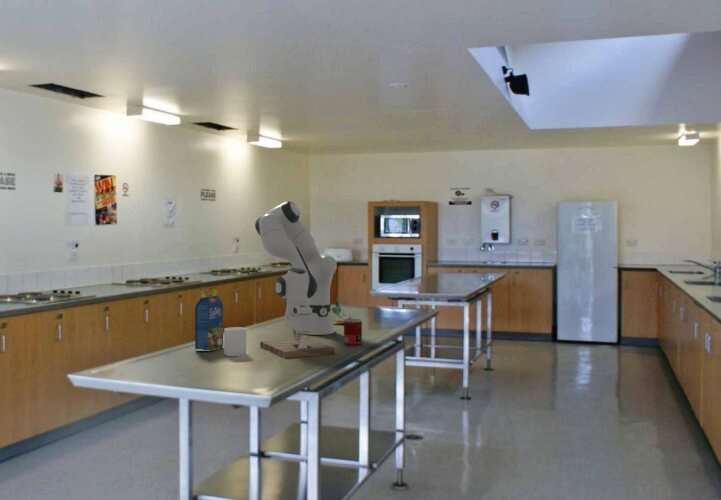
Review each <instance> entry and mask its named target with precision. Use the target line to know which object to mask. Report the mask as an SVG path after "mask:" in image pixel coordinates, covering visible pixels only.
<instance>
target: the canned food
mask: <svg viewBox="0 0 721 500" xmlns="http://www.w3.org/2000/svg"><path fill="white" fill-rule="evenodd" d="M343 320H344V323H343V343H344V345H345V346H350V347H357V346H361V345H362V342H363V320H362V319H361V318H352V319H348V318H345V319H343Z"/></svg>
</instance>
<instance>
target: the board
mask: <svg viewBox="0 0 721 500" xmlns="http://www.w3.org/2000/svg"><path fill="white" fill-rule="evenodd" d="M259 344H260V345H259V347H260V348H261V349H263V350H265V351H267V352H269V351H270V353H272V354H274V355H276V356H279V357H281V358H282V359H291V358H300V357H312V356H322V355H323V356H325V355H326V356H327V355H333V354H335V353H336V351H335V349H336V348H335V347H334V346H331V345H328V344H325V343H323V342H320V341H317V340H314V339H312V338H309V337H306V338H305V337H304V338H301V337H300V341H295V340H294V338H291V339H289V338H288V339H278V340H277V339H276V340H275V339H274V340H262V341H260V343H259ZM300 344H306V345H307V348H302V349H299V348H298V346H299V345H300Z"/></svg>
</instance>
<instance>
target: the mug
mask: <svg viewBox="0 0 721 500" xmlns="http://www.w3.org/2000/svg"><path fill="white" fill-rule="evenodd" d="M223 349H224V350H223V351H224V356H225V355H226V356H225V357H228V356H240V357H244V356H246V354H247V328H246V327H242V326H235V327H234V326H233V327H226V328H223ZM243 355H244V356H243Z"/></svg>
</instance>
